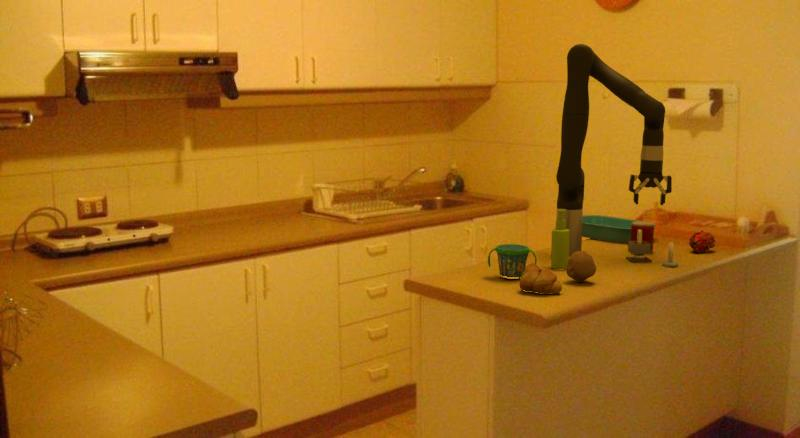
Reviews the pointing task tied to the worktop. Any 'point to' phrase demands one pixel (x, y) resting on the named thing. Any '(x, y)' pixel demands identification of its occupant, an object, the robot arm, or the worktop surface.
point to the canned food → (643, 232)
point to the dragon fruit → (702, 241)
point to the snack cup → (512, 259)
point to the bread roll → (539, 280)
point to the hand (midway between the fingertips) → (649, 204)
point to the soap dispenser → (560, 243)
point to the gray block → (639, 247)
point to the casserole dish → (607, 228)
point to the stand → (639, 257)
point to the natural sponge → (580, 266)
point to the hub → (670, 257)
